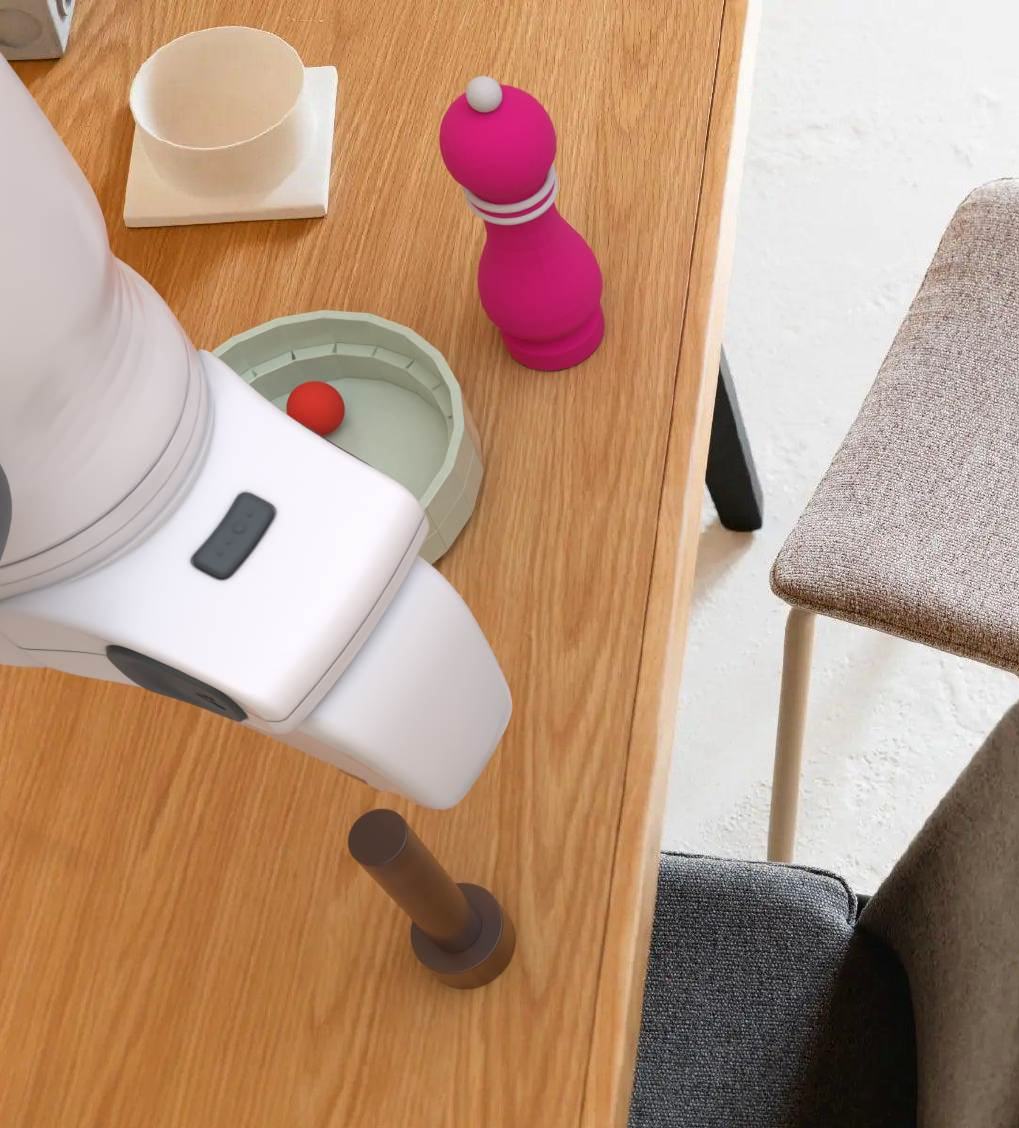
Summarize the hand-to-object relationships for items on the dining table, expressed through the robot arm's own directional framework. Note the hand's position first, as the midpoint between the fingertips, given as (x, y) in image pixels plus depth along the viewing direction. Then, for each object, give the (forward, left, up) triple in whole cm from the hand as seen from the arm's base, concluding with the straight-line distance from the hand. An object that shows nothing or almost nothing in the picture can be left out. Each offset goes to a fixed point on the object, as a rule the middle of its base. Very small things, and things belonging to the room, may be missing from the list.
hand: (257, 707), depth 49 cm
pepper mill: (+35, +15, -29) cm, 48 cm away
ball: (+23, +24, -27) cm, 42 cm away
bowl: (+20, +21, -29) cm, 41 cm away
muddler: (0, 0, -29) cm, 29 cm away
